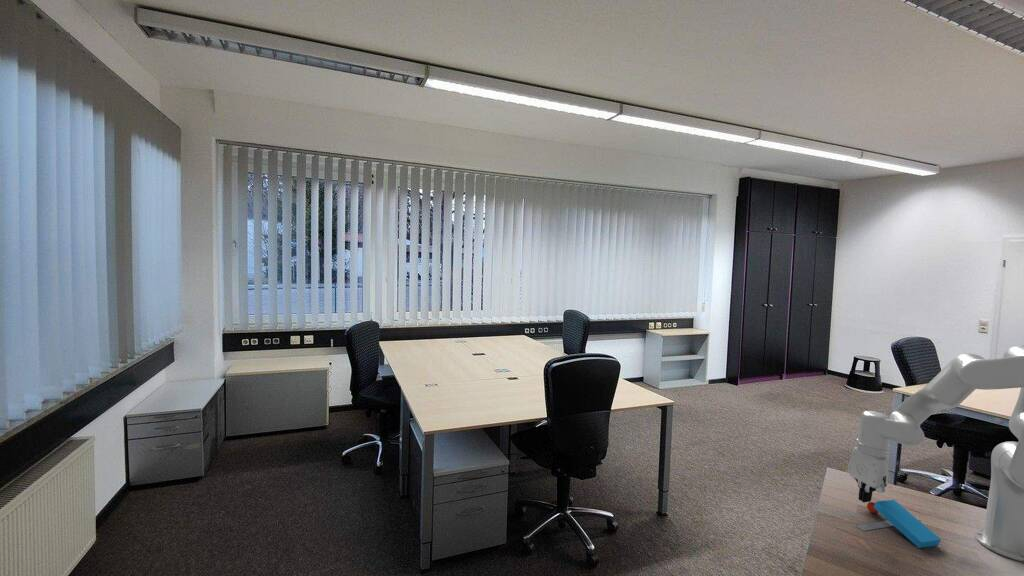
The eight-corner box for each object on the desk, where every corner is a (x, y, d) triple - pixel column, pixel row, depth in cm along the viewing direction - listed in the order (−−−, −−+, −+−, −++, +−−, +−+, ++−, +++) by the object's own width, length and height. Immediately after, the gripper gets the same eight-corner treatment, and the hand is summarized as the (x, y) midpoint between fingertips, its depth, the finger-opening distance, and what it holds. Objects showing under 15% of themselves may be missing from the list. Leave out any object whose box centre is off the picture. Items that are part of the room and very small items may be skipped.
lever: (931, 556, 129) (875, 506, 145) (941, 539, 126) (883, 490, 142) (912, 559, 127) (858, 508, 144) (921, 542, 125) (865, 492, 141)
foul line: (912, 516, 141) (912, 516, 141) (921, 521, 138) (921, 521, 138) (855, 525, 136) (855, 525, 136) (863, 531, 133) (863, 530, 133)
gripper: (840, 439, 149) (834, 488, 151) (886, 461, 134) (878, 516, 137) (858, 437, 150) (852, 486, 153) (905, 459, 136) (897, 513, 138)
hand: (864, 500), depth 145 cm, fingers closed
